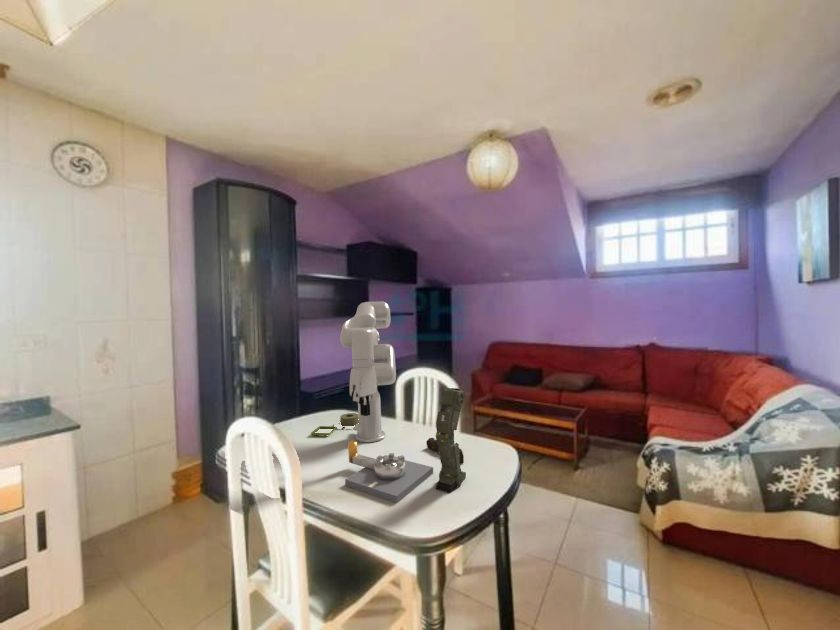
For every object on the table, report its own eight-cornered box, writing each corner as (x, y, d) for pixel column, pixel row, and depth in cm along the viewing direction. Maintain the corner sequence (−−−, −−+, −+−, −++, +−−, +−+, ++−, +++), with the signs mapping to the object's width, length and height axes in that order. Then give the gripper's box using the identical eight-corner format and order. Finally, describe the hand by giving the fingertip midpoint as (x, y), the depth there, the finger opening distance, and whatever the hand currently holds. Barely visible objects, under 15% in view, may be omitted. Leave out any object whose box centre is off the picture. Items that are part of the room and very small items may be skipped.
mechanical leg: (447, 497, 99) (455, 388, 104) (425, 490, 102) (434, 386, 108) (467, 486, 110) (473, 389, 115) (447, 481, 114) (454, 387, 119)
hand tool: (426, 448, 135) (425, 437, 135) (434, 446, 137) (433, 434, 137) (457, 466, 119) (456, 453, 119) (466, 463, 122) (465, 450, 122)
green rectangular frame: (337, 430, 160) (337, 426, 159) (329, 438, 151) (329, 433, 151) (319, 430, 161) (319, 426, 161) (310, 437, 152) (310, 432, 152)
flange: (355, 421, 157) (370, 411, 171) (326, 419, 162) (343, 410, 176) (356, 432, 157) (370, 421, 171) (327, 429, 162) (344, 419, 176)
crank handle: (411, 469, 113) (411, 448, 113) (393, 483, 105) (392, 460, 105) (360, 455, 125) (359, 436, 125) (339, 466, 117) (338, 446, 117)
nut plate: (345, 485, 109) (345, 478, 109) (385, 460, 126) (385, 454, 126) (396, 503, 98) (396, 495, 98) (433, 473, 115) (433, 466, 115)
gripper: (369, 360, 132) (371, 408, 132) (340, 366, 120) (342, 419, 120) (384, 361, 128) (386, 411, 128) (356, 367, 116) (358, 422, 116)
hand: (365, 414), depth 124 cm, fingers closed
